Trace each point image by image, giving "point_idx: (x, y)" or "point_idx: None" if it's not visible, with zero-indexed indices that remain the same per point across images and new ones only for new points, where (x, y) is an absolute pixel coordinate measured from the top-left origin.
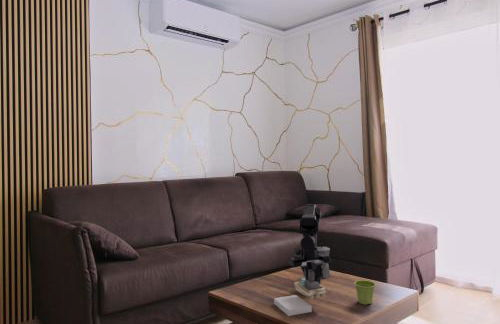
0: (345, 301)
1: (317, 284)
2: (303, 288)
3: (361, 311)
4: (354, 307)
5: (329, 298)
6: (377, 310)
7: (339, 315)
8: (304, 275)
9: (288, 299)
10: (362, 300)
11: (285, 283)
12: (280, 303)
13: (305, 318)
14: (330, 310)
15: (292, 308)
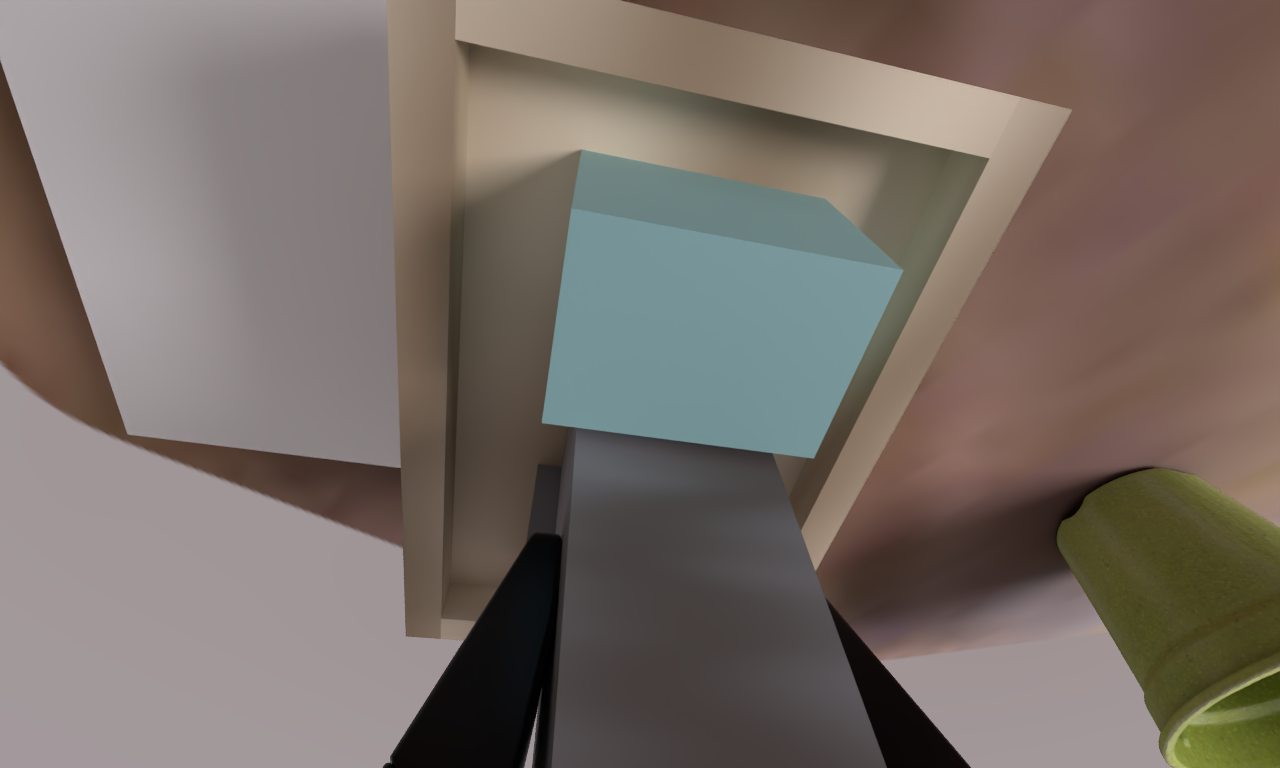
0: (1038, 412)
1: None
2: (403, 496)
3: (886, 611)
4: (932, 544)
5: (1025, 234)
6: (989, 643)
7: None
8: (468, 648)
9: (265, 82)
10: (1076, 571)
11: None
12: (38, 167)
13: (348, 509)
14: None
15: (203, 423)
